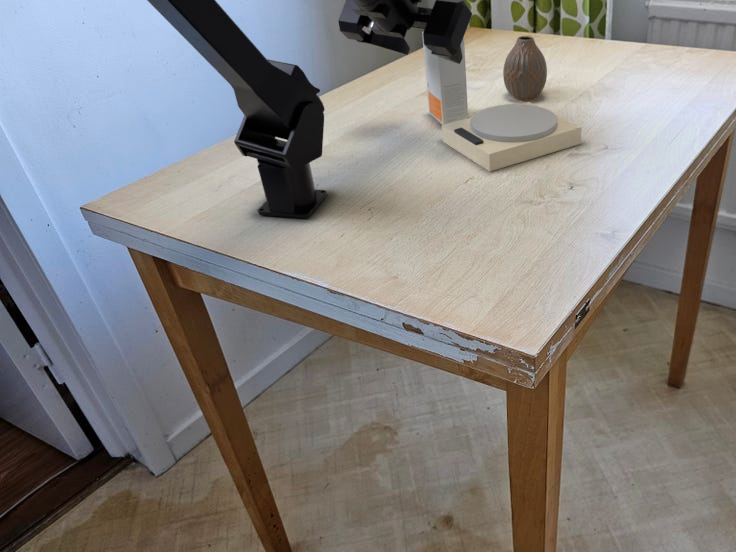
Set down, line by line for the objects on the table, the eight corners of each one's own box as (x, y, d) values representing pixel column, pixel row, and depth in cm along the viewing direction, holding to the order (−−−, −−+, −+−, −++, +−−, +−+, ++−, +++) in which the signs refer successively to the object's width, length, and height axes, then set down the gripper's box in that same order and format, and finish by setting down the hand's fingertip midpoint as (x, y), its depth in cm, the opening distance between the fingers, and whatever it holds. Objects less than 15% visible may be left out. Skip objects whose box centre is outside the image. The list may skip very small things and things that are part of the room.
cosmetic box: (428, 115, 103) (420, 31, 95) (453, 109, 104) (448, 26, 96) (443, 127, 98) (436, 41, 91) (469, 122, 100) (465, 36, 92)
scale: (489, 171, 86) (489, 148, 84) (442, 141, 94) (440, 119, 92) (580, 144, 92) (582, 121, 90) (528, 117, 100) (529, 96, 98)
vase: (530, 106, 104) (531, 46, 98) (495, 98, 107) (493, 40, 101) (554, 93, 108) (556, 35, 102) (519, 86, 111) (519, 29, 105)
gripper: (458, -77, 75) (511, 8, 89) (337, -84, 83) (402, -5, 97) (422, 16, 75) (480, 86, 89) (305, 0, 84) (375, 67, 97)
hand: (433, 55), depth 93 cm, fingers open, 9 cm apart
